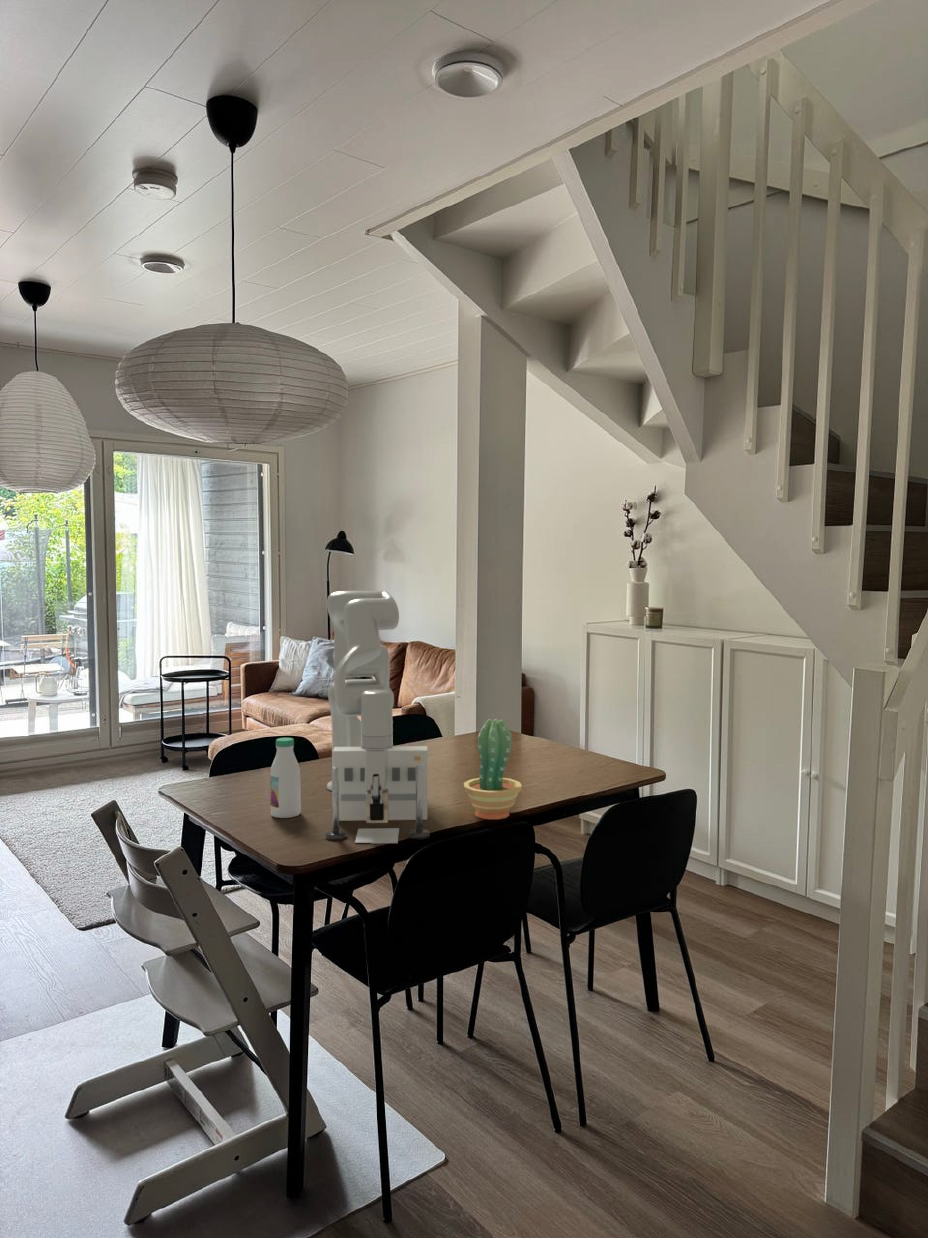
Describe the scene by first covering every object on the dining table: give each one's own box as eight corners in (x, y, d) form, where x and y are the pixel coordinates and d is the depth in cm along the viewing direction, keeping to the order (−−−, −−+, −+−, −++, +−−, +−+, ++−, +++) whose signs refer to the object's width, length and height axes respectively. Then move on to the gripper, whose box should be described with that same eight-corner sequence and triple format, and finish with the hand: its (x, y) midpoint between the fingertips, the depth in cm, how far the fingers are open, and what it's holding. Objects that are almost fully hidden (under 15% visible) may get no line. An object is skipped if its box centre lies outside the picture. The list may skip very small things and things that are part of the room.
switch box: (335, 815, 225) (334, 746, 223) (427, 813, 226) (427, 746, 224) (333, 821, 219) (332, 752, 218) (427, 820, 220) (427, 751, 219)
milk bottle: (303, 810, 229) (302, 735, 228) (298, 818, 221) (297, 742, 220) (273, 810, 229) (272, 736, 227) (268, 819, 221) (266, 742, 220)
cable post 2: (409, 833, 210) (408, 764, 209) (429, 832, 210) (429, 764, 209) (408, 839, 205) (408, 769, 204) (429, 839, 205) (429, 769, 204)
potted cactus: (533, 813, 226) (534, 719, 224) (496, 827, 214) (496, 728, 213) (488, 802, 236) (489, 712, 234) (450, 815, 225) (450, 720, 223)
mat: (358, 830, 212) (358, 828, 212) (399, 829, 212) (399, 828, 212) (355, 843, 202) (354, 842, 202) (397, 843, 202) (397, 841, 202)
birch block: (367, 816, 209) (367, 788, 209) (388, 816, 209) (388, 788, 209) (366, 823, 204) (366, 794, 204) (387, 822, 204) (387, 793, 204)
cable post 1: (326, 834, 209) (325, 765, 208) (347, 833, 209) (346, 764, 208) (324, 840, 204) (323, 770, 203) (345, 840, 204) (344, 770, 203)
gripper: (363, 734, 214) (364, 806, 215) (358, 749, 197) (359, 827, 198) (394, 734, 214) (394, 806, 215) (391, 749, 197) (391, 827, 198)
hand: (377, 815), depth 207 cm, fingers closed on birch block, 5 cm apart
